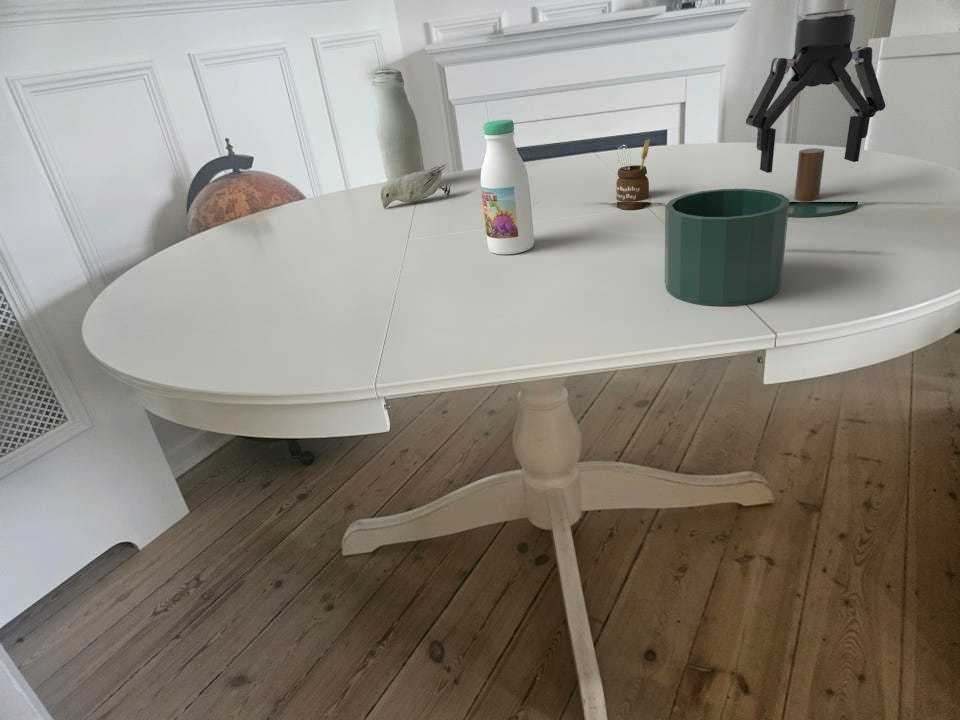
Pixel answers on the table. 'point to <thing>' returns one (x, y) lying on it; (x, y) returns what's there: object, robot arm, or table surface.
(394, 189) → the decorative bird
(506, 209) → the milk bottle
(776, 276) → the canister
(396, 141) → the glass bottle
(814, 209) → the lid
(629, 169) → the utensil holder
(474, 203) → the table surface
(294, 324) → the table surface
